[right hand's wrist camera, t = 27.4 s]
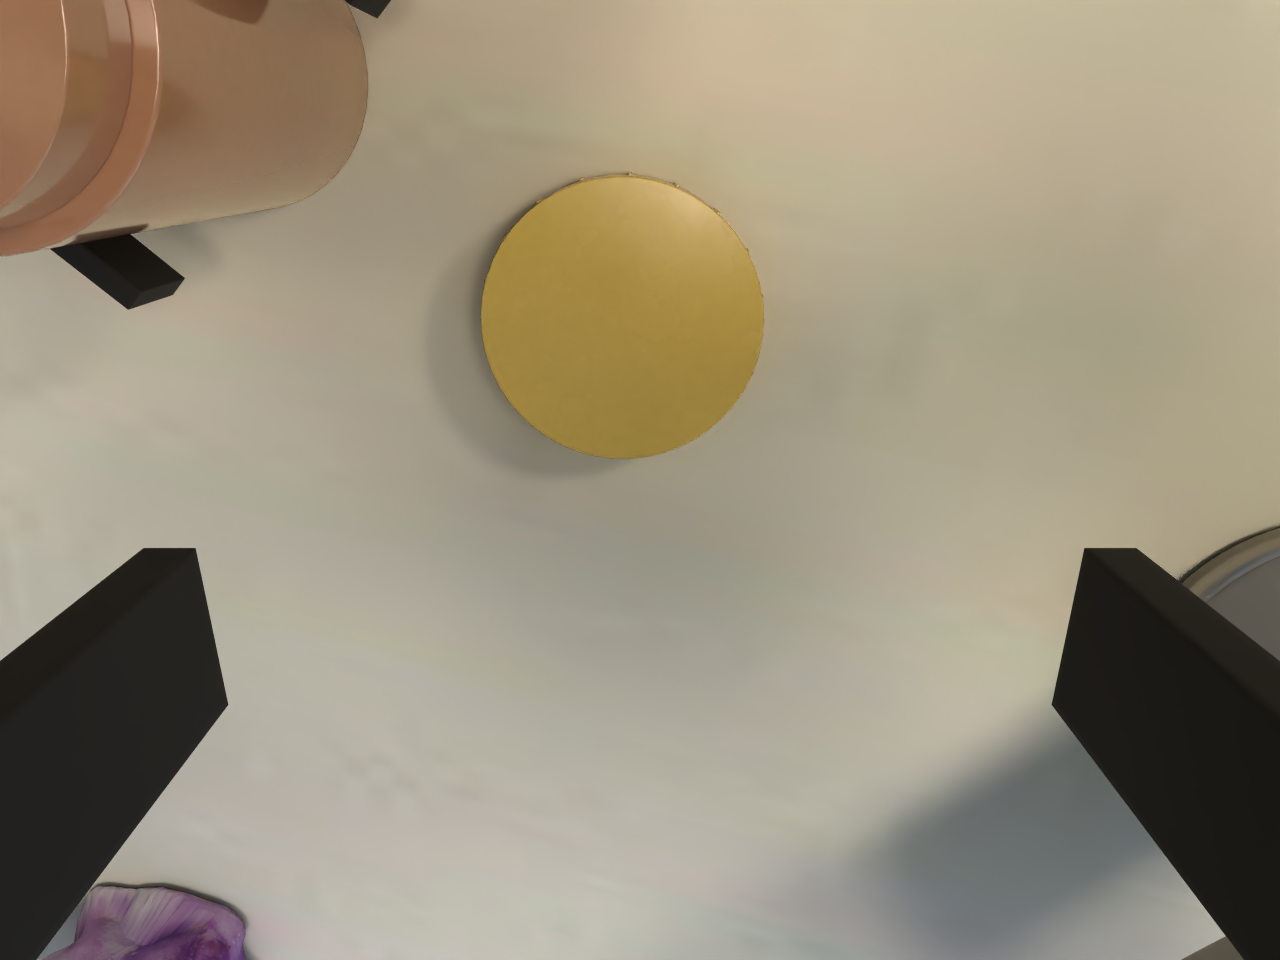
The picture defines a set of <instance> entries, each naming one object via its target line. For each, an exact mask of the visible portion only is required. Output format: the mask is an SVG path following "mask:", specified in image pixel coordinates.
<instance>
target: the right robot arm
mask: <svg viewBox="0 0 1280 960" xmlns="http://www.w3.org/2000/svg"><path fill="white" fill-rule="evenodd" d="M227 706H228V701H227V697H226V692H225V687H224V682H223V677H222V673H221V668H220V663H219V658H218V653H217V649H216V644H215V639H214V634H213V630H212V625H211V620H210V615H209V610H208V606H207V601H206V596H205V591H204V586H203V582H202V577H201V572H200V567H199V562H198V558H197V553H196V548H143V549H142V550H141V551H139V552H138V553H137V554H136V555H134V556H133V557H132V558H131V559H129V560H128V561H127V562H125V563H124V564H123V565H122V566H120V567H119V568H118V569H117V570H115V571H114V572H113V573H111V574H110V575H109V576H108V577H106V578H105V579H104V580H103V581H101V582H100V583H99V584H97V585H96V586H95V587H94V588H92V589H91V590H90V591H89V592H87V593H86V594H85V595H83V596H82V597H81V598H80V599H78V600H77V601H76V602H75V603H73V604H72V605H71V606H70V607H68V608H67V609H66V610H64V611H63V612H62V613H61V614H59V615H58V616H57V617H56V618H54V619H53V620H52V621H50V622H49V623H48V624H47V625H45V626H44V627H43V628H42V629H40V630H39V631H38V632H36V633H35V634H34V635H33V636H31V637H30V638H29V639H28V640H26V641H25V642H24V643H22V644H21V645H20V646H19V647H17V648H16V649H15V650H14V651H12V652H11V653H10V654H8V655H7V656H6V657H5V658H3V659H2V660H1V661H0V960H36V959H37V958H38V957H39V955H40V954H41V953H42V951H43V950H44V949H45V947H46V946H47V945H48V943H49V942H50V941H51V939H52V938H53V937H54V935H55V934H56V933H57V931H58V930H59V929H60V927H61V926H62V925H63V923H64V922H65V921H66V919H67V918H68V917H69V915H70V914H71V913H72V912H73V910H74V909H75V908H76V906H77V905H78V904H79V902H80V901H81V900H82V898H83V897H84V896H85V894H86V893H87V892H88V890H89V889H90V888H91V886H92V885H93V884H94V882H95V881H96V880H97V878H98V877H99V876H100V874H101V873H102V872H103V870H104V869H105V868H106V866H107V865H108V864H109V862H110V861H111V860H112V858H113V857H114V856H115V854H116V853H117V852H118V850H119V849H120V848H121V846H122V845H123V844H124V842H125V841H126V840H127V838H128V837H129V836H130V834H131V833H132V832H133V831H134V829H135V828H136V827H137V825H138V824H139V823H140V821H141V820H142V819H143V817H144V816H145V815H146V813H147V812H148V811H149V809H150V808H151V807H152V805H153V804H154V803H155V801H156V800H157V799H158V797H159V796H160V795H161V793H162V792H163V791H164V789H165V788H166V787H167V785H168V784H169V783H170V781H171V780H172V779H173V777H174V776H175V775H176V773H177V772H178V771H179V769H180V768H181V767H182V765H183V764H184V763H185V761H186V760H187V759H188V757H189V756H190V755H191V753H192V752H193V751H194V750H195V748H196V747H197V746H198V744H199V743H200V742H201V740H202V739H203V738H204V736H205V735H206V734H207V732H208V731H209V730H210V728H211V727H212V726H213V724H214V723H215V722H216V720H217V719H218V718H219V716H220V715H221V714H222V712H223V711H224V710H225V708H226V707H227ZM1052 706H1053V707H1054V708H1055V710H1056V711H1057V712H1058V714H1059V715H1060V716H1061V718H1062V719H1063V720H1064V722H1065V723H1066V724H1067V726H1068V727H1069V728H1070V730H1071V731H1072V732H1073V734H1074V735H1075V736H1076V738H1077V739H1078V740H1079V742H1080V743H1081V744H1082V746H1083V747H1084V748H1085V750H1086V751H1087V752H1088V753H1089V755H1090V756H1091V757H1092V759H1093V760H1094V761H1095V763H1096V764H1097V765H1098V767H1099V768H1100V769H1101V771H1102V772H1103V773H1104V775H1105V776H1106V777H1107V779H1108V780H1109V781H1110V783H1111V784H1112V785H1113V787H1114V788H1115V789H1116V791H1117V792H1118V793H1119V795H1120V796H1121V797H1122V799H1123V800H1124V801H1125V803H1126V804H1127V805H1128V807H1129V808H1130V809H1131V811H1132V812H1133V813H1134V815H1135V816H1136V817H1137V819H1138V820H1139V821H1140V823H1141V824H1142V825H1143V827H1144V828H1145V829H1146V831H1147V832H1148V833H1149V834H1150V836H1151V837H1152V838H1153V840H1154V841H1155V842H1156V844H1157V845H1158V846H1159V848H1160V849H1161V850H1162V852H1163V853H1164V854H1165V856H1166V857H1167V858H1168V860H1169V861H1170V862H1171V864H1172V865H1173V866H1174V868H1175V869H1176V870H1177V872H1178V873H1179V874H1180V876H1181V877H1182V878H1183V880H1184V881H1185V882H1186V884H1187V885H1188V886H1189V888H1190V889H1191V890H1192V892H1193V893H1194V894H1195V896H1196V897H1197V898H1198V900H1199V901H1200V902H1201V904H1202V905H1203V906H1204V908H1205V909H1206V910H1207V912H1208V913H1209V914H1210V915H1211V917H1212V918H1213V919H1214V921H1215V922H1216V923H1217V925H1218V926H1219V927H1220V929H1221V930H1222V931H1223V933H1224V934H1225V935H1226V936H1225V937H1224V938H1222V939H1220V940H1218V941H1216V942H1214V943H1212V944H1210V945H1208V946H1206V947H1205V948H1203V949H1201V950H1199V951H1197V952H1195V953H1193V954H1191V955H1189V956H1188V957H1186V958H1184V959H1182V960H1280V528H1278V529H1274V530H1271V531H1268V532H1266V533H1263V534H1260V535H1258V536H1255V537H1253V538H1250V539H1248V540H1246V541H1244V542H1242V543H1240V544H1237V545H1236V546H1234V547H1232V548H1230V549H1228V550H1227V551H1225V552H1223V553H1221V554H1220V555H1218V556H1217V557H1215V558H1214V559H1212V560H1210V561H1209V562H1207V563H1206V564H1205V565H1203V566H1202V567H1201V568H1199V569H1198V570H1197V571H1195V572H1194V573H1193V574H1192V575H1190V576H1189V577H1188V578H1187V579H1186V580H1185V581H1184V582H1183V583H1180V582H1179V581H1177V580H1176V579H1175V578H1174V577H1172V576H1171V575H1170V574H1169V573H1167V572H1166V571H1165V570H1163V569H1162V568H1161V567H1160V566H1158V565H1157V564H1156V563H1155V562H1153V561H1152V560H1151V559H1149V558H1148V557H1147V556H1146V555H1144V554H1143V553H1142V552H1141V551H1139V550H1138V549H1137V548H1084V553H1083V558H1082V562H1081V567H1080V572H1079V577H1078V582H1077V586H1076V591H1075V596H1074V601H1073V606H1072V610H1071V615H1070V620H1069V625H1068V630H1067V634H1066V639H1065V644H1064V649H1063V653H1062V658H1061V663H1060V668H1059V673H1058V677H1057V682H1056V687H1055V692H1054V697H1053V701H1052Z"/></svg>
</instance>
